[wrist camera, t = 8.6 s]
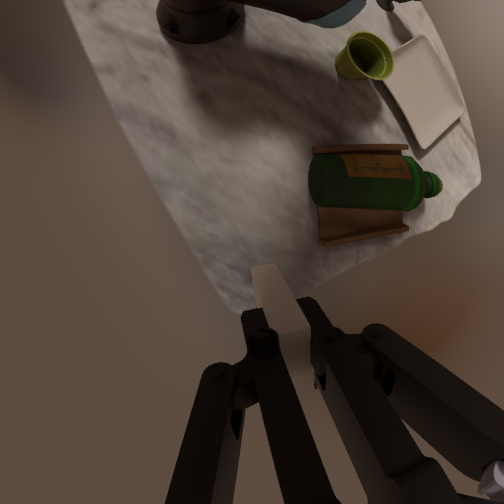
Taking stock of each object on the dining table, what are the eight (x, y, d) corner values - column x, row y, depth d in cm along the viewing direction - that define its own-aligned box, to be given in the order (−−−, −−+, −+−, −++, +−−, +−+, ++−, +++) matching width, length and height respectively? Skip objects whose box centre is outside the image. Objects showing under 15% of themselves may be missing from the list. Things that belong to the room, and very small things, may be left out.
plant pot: (316, 59, 39) (336, 45, 31) (346, 37, 38) (368, 23, 30) (350, 96, 43) (374, 90, 35) (377, 72, 41) (403, 64, 33)
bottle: (302, 155, 47) (419, 163, 50) (307, 214, 48) (423, 211, 51) (324, 139, 36) (451, 156, 40) (331, 212, 37) (457, 211, 41)
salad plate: (362, 65, 41) (371, 62, 38) (415, 35, 38) (424, 32, 35) (413, 151, 49) (424, 152, 45) (457, 110, 46) (467, 110, 43)
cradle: (311, 147, 45) (318, 147, 43) (399, 144, 47) (408, 144, 44) (319, 241, 52) (325, 247, 49) (400, 226, 54) (408, 230, 51)
